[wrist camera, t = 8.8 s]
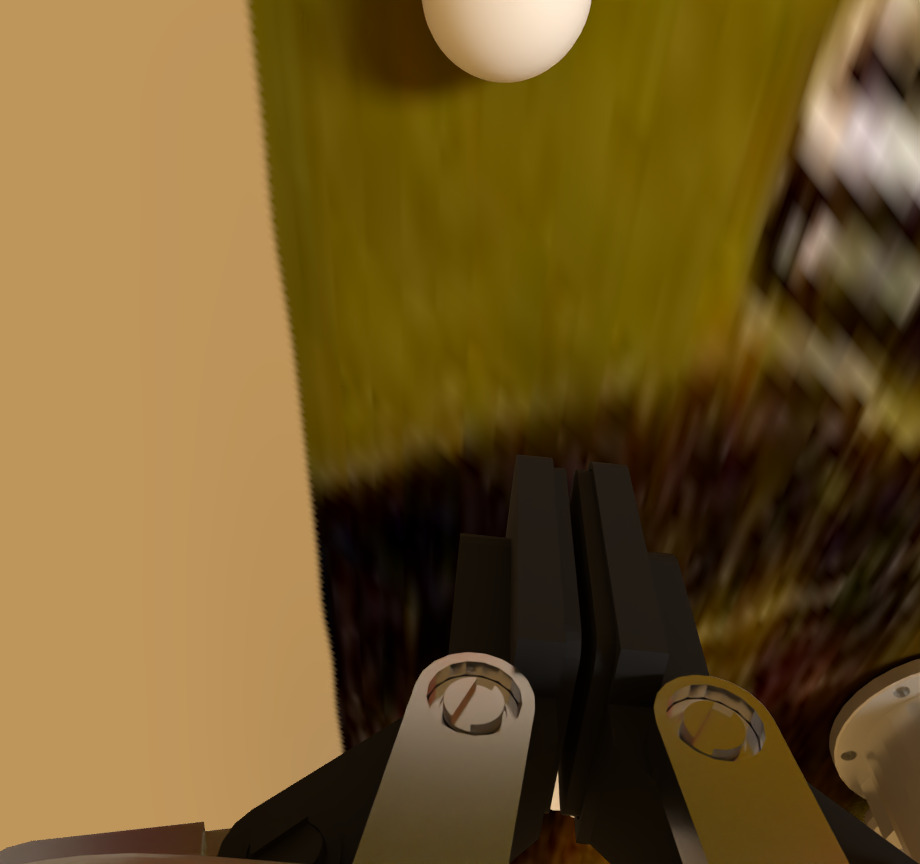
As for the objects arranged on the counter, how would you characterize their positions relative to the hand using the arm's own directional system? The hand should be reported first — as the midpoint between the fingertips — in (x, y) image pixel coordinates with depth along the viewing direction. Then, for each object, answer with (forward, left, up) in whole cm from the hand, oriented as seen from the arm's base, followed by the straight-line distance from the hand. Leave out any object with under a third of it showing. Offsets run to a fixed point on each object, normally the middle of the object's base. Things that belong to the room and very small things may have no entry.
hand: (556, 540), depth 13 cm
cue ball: (+6, +2, -20) cm, 21 cm away
